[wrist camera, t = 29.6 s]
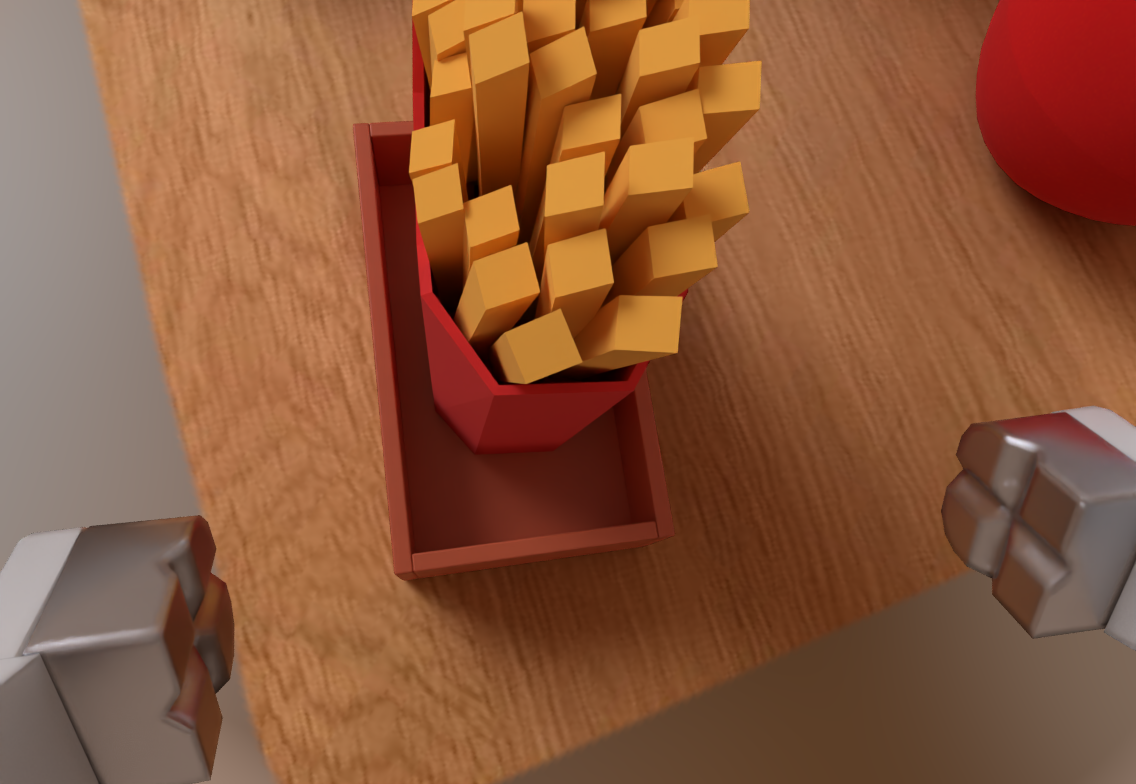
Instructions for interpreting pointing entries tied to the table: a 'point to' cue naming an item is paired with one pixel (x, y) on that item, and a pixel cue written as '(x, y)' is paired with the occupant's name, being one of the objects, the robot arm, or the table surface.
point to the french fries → (566, 198)
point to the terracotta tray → (442, 460)
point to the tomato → (1063, 102)
